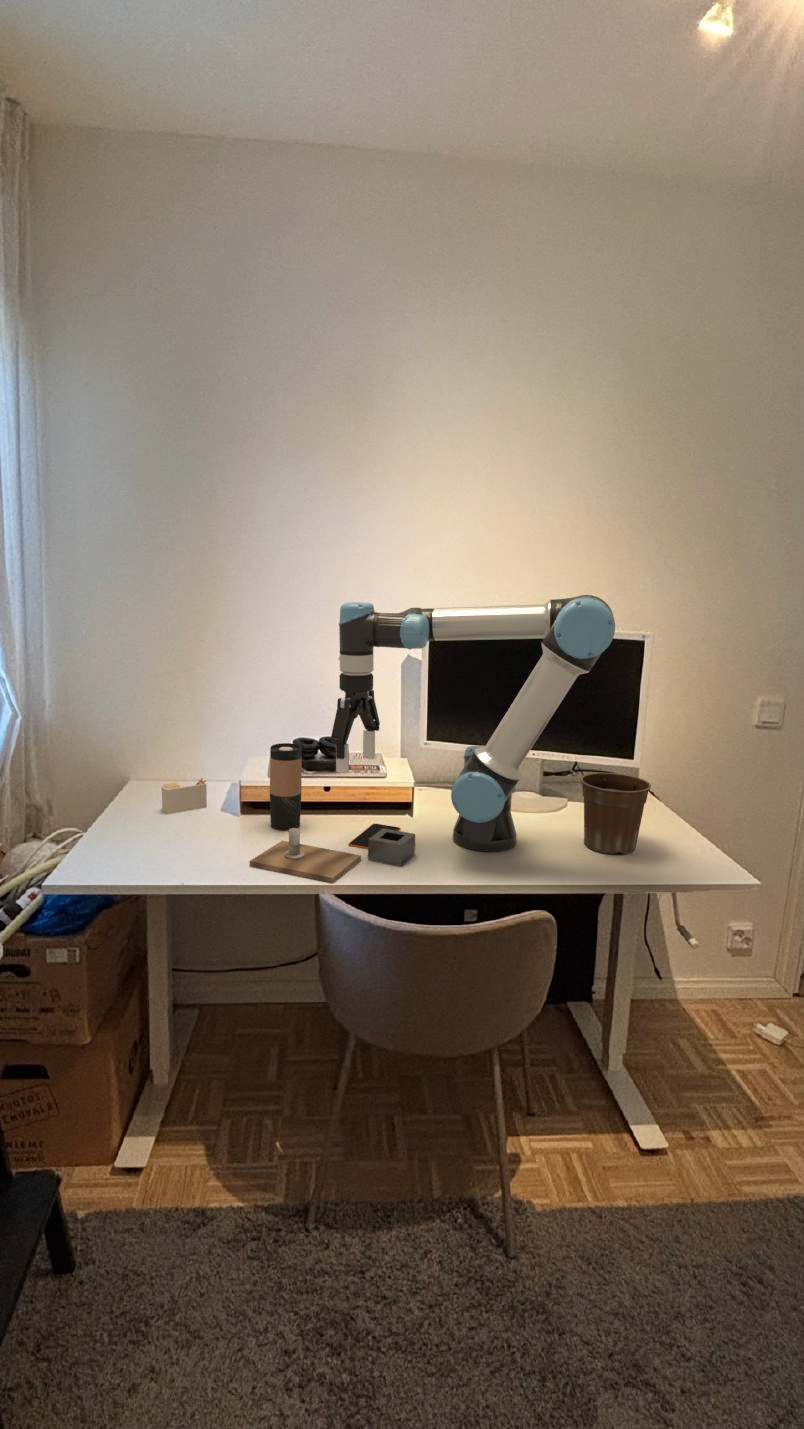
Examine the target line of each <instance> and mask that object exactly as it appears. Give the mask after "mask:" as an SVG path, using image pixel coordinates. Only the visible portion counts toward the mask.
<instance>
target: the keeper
mask: <svg viewBox="0 0 804 1429" xmlns="http://www.w3.org/2000/svg"><path fill="white" fill-rule="evenodd" d="M300 842H301V830H300V828H299V827H298V828H291V829H289V830H288V841H287V840H281V841H279V842H278V843H276V844H274V845H273V846H271V847H269V848H268V849H267V850H264V851H263V852H261V853H260V854H258V855H257V856H255V857H253V858H252V859H250V860H249V867H251V868H257V869H262V870H266V871H272V872H277V873H279V874H280V873H281V874H287V875H291V876H295V877H301V878H306V879H311V880H316V881H320V882H325V883H330V884H334V883H335V882H337V881H338V880H339V879H340V878H342V876H343V875H345V874H346V873H347V872H348V871H350V870H351V869H353V867H355V866H356V865H358V864H359V863H360V862H361V861H362V855H361V854H355V853H350V852H346V851H345V852H344V851H340V850H336V849H335V850H334V849H330V848H325V847H318V846H313V845H307V844H303V843H300Z"/></svg>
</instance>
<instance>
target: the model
mask: <svg viewBox="0 0 804 1429" xmlns="http://www.w3.org/2000/svg"><path fill="white" fill-rule="evenodd" d="M206 781H207V780H203V778H200V779H199V780H198V781H197V783H195V784H194V785H189V786H183V787H181V786H180V784H179V783H177V782H171V783H162V786H161V811H162V812H163V813H165V814H166V815H168V814H169V815H170V814H176V813H181V812H188V811H193V810H200V809H205V808H207V806H208V805H207V804H208V803H207V793H208V792H207V783H205V782H206Z"/></svg>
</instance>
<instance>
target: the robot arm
mask: <svg viewBox="0 0 804 1429" xmlns="http://www.w3.org/2000/svg"><path fill="white" fill-rule="evenodd" d="M338 627H339V629H338V630H339V657H338V661H339V671H340V672H341V673H340V674H339V678H338V679H339V689H340V690H341V691H342V692H344V694H345V695H344V698H341V697H339V698H337V705H336V706H337V709H336V712H335V717H334V720H333V721H334V723H333V726H332V730H331V735H330V743H331V744H335V772H336V773H341V774H349V772H350V771H349V770H350V769H349V767H350V765H349V762H350V761H349V760H350V759H349V758H350V755H349V754H350V753H349V752H350V749H349V746H350V744H349V743H348V740H349V737H350V734H351V731H352V727H353V724H354V721H355V719H357V718H358V716H359V718H360V721H361V722H362V725H363V727H364V730H363V731H362V740H363V741H362V759H369V760H375V758H376V732H379V731H380V725H381V724H380V719H379V713H378V710H377V705H376V700H375V690H374V675H373V671H374V668H375V667H374V666H375V665H374V664H375V663H374V648H390V649H392V648H394V649H407V650H412V649H413V650H417V649H424V648H425V647H426V646H427V644H428V642H434V641H435V642H436V641H439V642H440V641H476V640H477V641H478V640H479V641H481V640H483V641H485V640H486V641H487V640H489V641H490V640H529V639H530V640H531V639H532V640H533V639H537V640H538V639H543V640H542V641H541V643H540V644H541V649H542V655H541V657H540V659H539V660H538V661H537V663H536V665H535V666H534V668H533V669H532V671H531V673H530V674H529V676H528V677H527V679H526V681H525V682H524V684H523V685H522V687H521V688H520V690H519V692H518V693H517V695H516V697H515V698H514V700H513V702H512V703H511V705H510V707H508V710H507V711H506V713H505V715H504V716H503V718H502V719H501V721H500V722H499V724H498V726H497V727H496V729H495V730H494V731H493V733H492V735H491V736H490V738H489V740H488V741H487V743H486V744H485V745H471V746H468V747H466V748H465V751H464V755H463V759H464V762H463V768H462V770H461V772H460V773H459V774H458V777H456V778H455V779H454V781H453V783H452V785H451V791H450V792H451V794H450V800H451V803H452V805H453V808H454V809H455V811H456V812H457V814H459V815H458V816H457V819H456V822H455V824H454V827H453V830H452V840H453V843H455V844H456V845H458V846H460V847H462V848H464V849H468V850H472V851H476V852H477V851H479V852H489V853H490V852H502V851H507V850H510V849H512V848H513V847H515V845H516V844H517V831H516V827H515V823H514V820H513V819H514V818H513V815H512V795H513V790H514V789H515V788H516V786H517V784H518V783H519V781H520V780H521V778H522V775H521V770H520V767H521V765H522V763H523V762H524V761H525V759H526V757H527V756H528V754H529V753H530V751H531V750H532V748H533V747H534V745H535V743H536V742H537V740H538V739H539V737H540V735H541V734H542V732H543V731H544V729H545V728H546V727H547V725H548V723H549V722H550V720H551V718H552V717H553V716H554V714H555V713H556V710H557V709H558V708H559V706H560V704H561V703H562V701H564V698H565V697H566V695H567V694H568V692H569V691H570V689H571V688H572V686H573V684H574V683H575V681H576V680H577V678H578V677H579V676H580V675H583V674H588V673H590V671H591V669H592V668H593V667H594V665H595V664H596V662H597V660H598V659H599V658H600V656H601V655H602V653H603V652H605V650H607V648H609V646H610V645H611V643H612V642H613V639H614V636H615V632H616V622H615V617H614V613H613V611H612V609H611V607H610V606H609V604H608V603H607V602H606V601H604V599H602V598H600V597H598V596H595V595H591V594H582V595H579V596H572V597H568V598H567V597H566V598H557V599H555V598H554V599H549V600H547V602H546V603H544V604H517V605H490V606H489V605H488V606H487V605H485V606H463V607H462V606H461V607H460V606H459V607H434V608H432V607H431V608H430V607H428V608H425V607H424V608H423V607H422V608H421V607H409V608H408V609H405V610H404V611H401V612H397V613H395V612H394V613H393V612H392V613H391V612H390V613H389V612H384V613H383V612H378V611H377V612H376V611H375V607H374V604H373V603H370V602H361V601H360V602H353V601H352V602H351V601H350V602H345V603H343V604H342V605H341V606H340V609H339V623H338Z"/></svg>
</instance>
